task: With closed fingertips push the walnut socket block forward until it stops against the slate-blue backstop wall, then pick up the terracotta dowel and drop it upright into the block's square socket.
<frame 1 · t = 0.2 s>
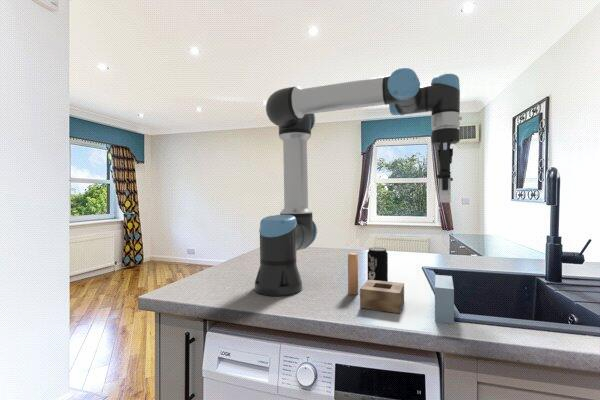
hand: (445, 202, 91), 28 cm above the worktop, fingers open, 13 cm apart
beverage can: (377, 285, 104), on the worktop
dowel: (353, 293, 94), on the worktop
backstop wall: (444, 313, 77), on the worktop
socket block: (382, 295, 84), point 3 cm above the worktop, slide at 0.0 cm
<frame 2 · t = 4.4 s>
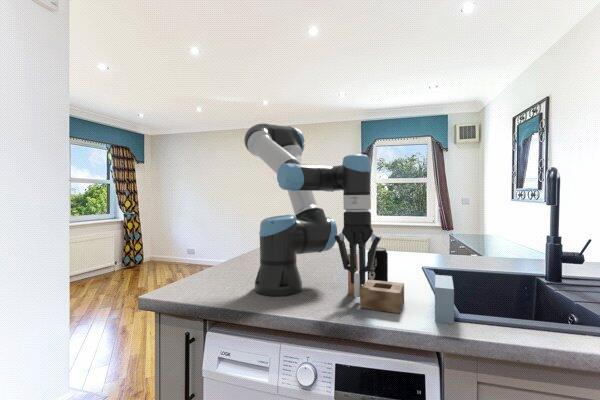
hand: (358, 295, 86), 2 cm above the worktop, fingers closed
socket block: (382, 295, 84), point 3 cm above the worktop, slide at 0.0 cm, touching gripper
everything else where it was.
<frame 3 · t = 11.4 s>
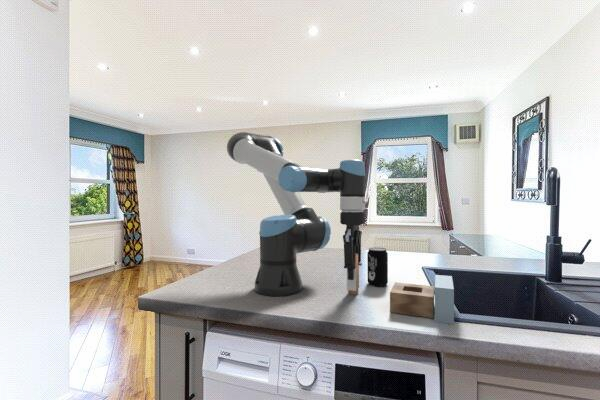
hand: (353, 288, 94), 2 cm above the worktop, fingers closed on dowel, 3 cm apart
dowel: (353, 293, 94), on the worktop, touching gripper
socket block: (412, 298, 81), point 3 cm above the worktop, slide at 7.6 cm
everything else where it was.
when the fingers open (5 cm above the worktop, at t = 16.5 s): dowel drops 1 cm, resting in socket block.
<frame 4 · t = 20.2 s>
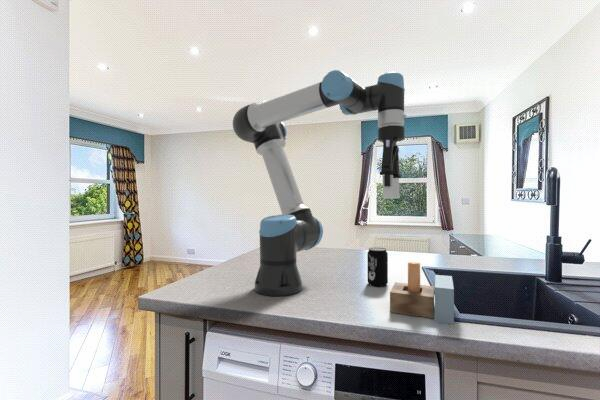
hand: (391, 198, 92), 29 cm above the worktop, fingers open, 13 cm apart
dowel: (414, 309, 80), resting in socket block
everything else where it was.
at the end: socket block slide at 7.6 cm; dowel 0.3 cm off-centre on the socket block, point 0.0 cm above the socket block's base; dowel tilted 0° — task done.
